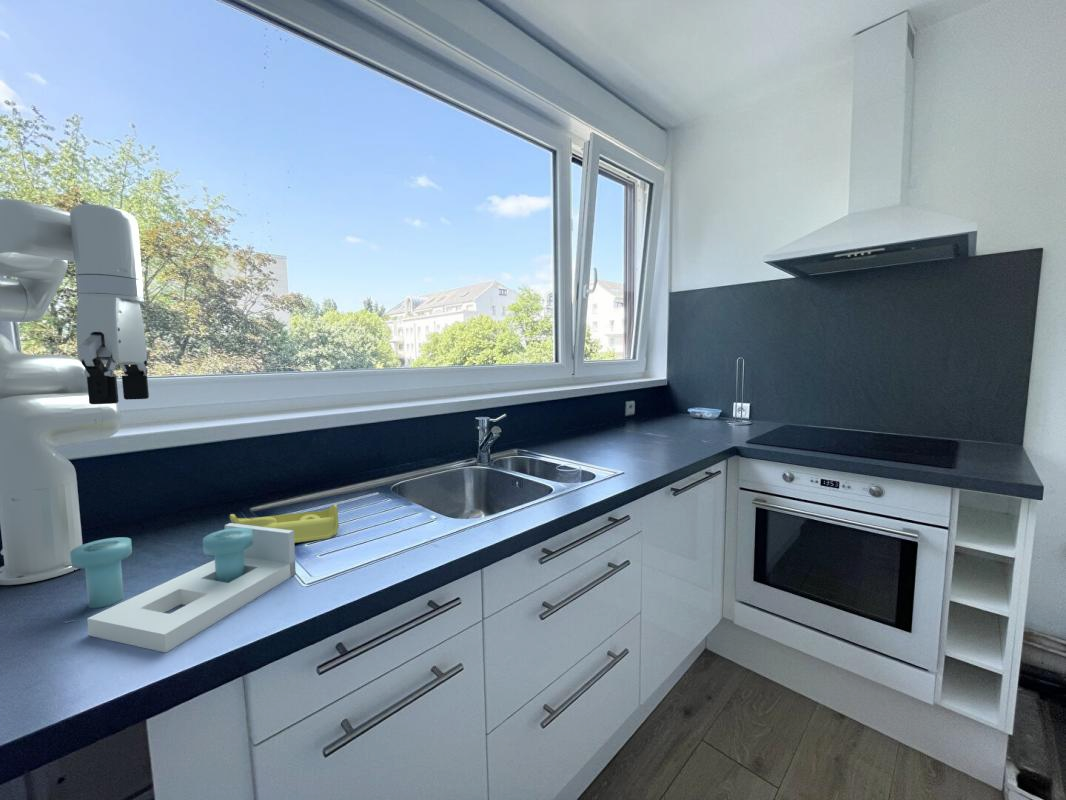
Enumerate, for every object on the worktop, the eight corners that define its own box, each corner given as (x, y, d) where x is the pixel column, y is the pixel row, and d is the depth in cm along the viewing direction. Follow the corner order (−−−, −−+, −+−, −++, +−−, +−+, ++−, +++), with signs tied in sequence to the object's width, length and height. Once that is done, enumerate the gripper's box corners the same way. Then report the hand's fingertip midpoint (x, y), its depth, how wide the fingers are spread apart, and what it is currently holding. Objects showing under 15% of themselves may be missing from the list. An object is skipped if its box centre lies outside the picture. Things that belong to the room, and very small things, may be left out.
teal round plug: (63, 609, 67) (58, 552, 66) (115, 587, 74) (111, 535, 73) (96, 616, 66) (91, 557, 65) (146, 593, 72) (142, 539, 71)
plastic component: (329, 510, 106) (338, 502, 98) (330, 542, 103) (339, 536, 96) (229, 520, 95) (229, 512, 87) (228, 556, 92) (228, 551, 85)
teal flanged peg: (195, 594, 72) (191, 541, 71) (233, 575, 78) (230, 525, 78) (228, 600, 70) (225, 545, 69) (264, 579, 77) (262, 529, 76)
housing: (88, 635, 61) (83, 579, 60) (232, 564, 82) (230, 523, 82) (165, 652, 58) (161, 593, 57) (295, 574, 79) (293, 530, 78)
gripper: (111, 298, 75) (120, 398, 77) (40, 280, 59) (54, 407, 61) (165, 300, 78) (172, 396, 79) (112, 282, 62) (123, 404, 63)
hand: (121, 401), depth 70 cm, fingers open, 9 cm apart
